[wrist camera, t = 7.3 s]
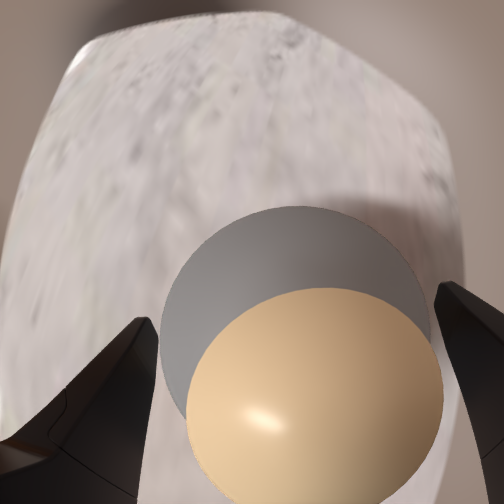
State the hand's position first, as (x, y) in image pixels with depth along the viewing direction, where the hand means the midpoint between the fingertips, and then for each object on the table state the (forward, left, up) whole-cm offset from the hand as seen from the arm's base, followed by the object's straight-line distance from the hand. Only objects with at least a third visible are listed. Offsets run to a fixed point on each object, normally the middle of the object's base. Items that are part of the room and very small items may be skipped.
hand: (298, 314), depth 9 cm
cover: (-1, +1, -8) cm, 8 cm away
